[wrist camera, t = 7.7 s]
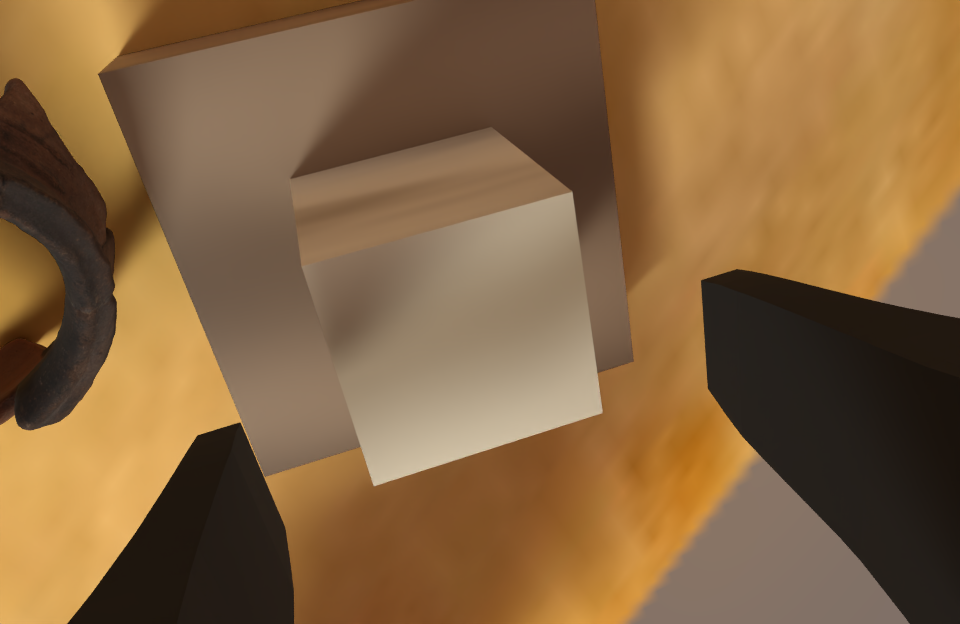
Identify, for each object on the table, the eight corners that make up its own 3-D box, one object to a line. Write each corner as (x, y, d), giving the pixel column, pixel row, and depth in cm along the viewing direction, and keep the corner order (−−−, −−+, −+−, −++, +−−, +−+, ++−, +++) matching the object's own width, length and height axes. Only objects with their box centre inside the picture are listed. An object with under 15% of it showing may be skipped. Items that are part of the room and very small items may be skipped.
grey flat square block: (591, 313, 23) (633, 361, 21) (263, 412, 22) (264, 476, 19) (543, -44, 19) (590, -41, 16) (121, 53, 17) (98, 73, 15)
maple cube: (523, 304, 19) (602, 412, 15) (346, 357, 18) (374, 486, 14) (491, 126, 17) (572, 191, 13) (289, 179, 16) (301, 266, 12)
